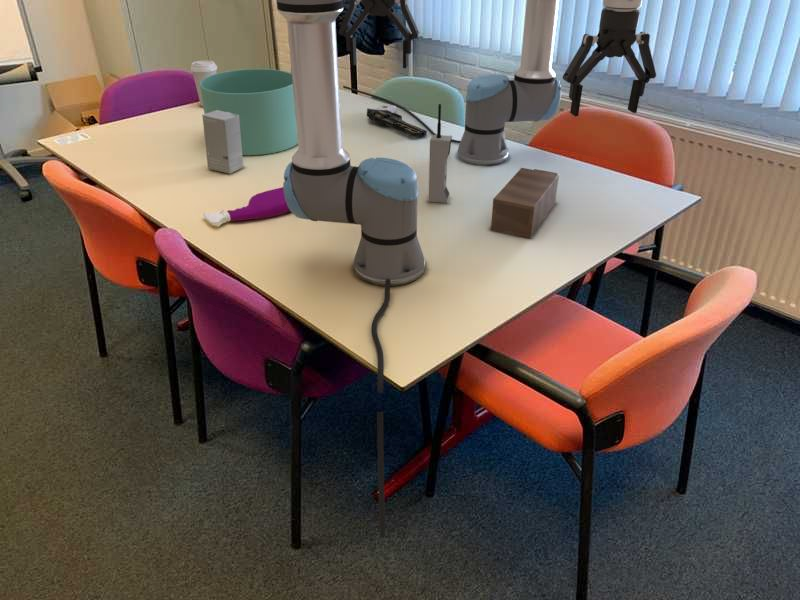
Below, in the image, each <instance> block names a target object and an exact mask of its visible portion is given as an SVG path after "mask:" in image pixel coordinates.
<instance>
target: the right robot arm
mask: <svg viewBox="0 0 800 600" xmlns="http://www.w3.org/2000/svg"><path fill="white" fill-rule="evenodd" d="M559 3H560V0H526V4H525V15H524V16H525V17H524V26H523V35H522V36H523V37H522V47H521V49H522V50H521V57H520V67H519V68H517V69H516V70H515V71H514V75H513V79H510V78H509V76H507V75H506V74H503V73H498V74H497V73H489V74H488V73H487V74H483V75H479V76H476V77H474V78H472V79H471V80H470V81H469V82H468V84H467V89H466V94H465V118H464V132H463V134H462V136H461V139H460V140H457V139H453V138H452V140H451V143H454V144H455V143H456V144H458V146H457V153H456V154H457V156H456V157H457V158H458V159H459V160H460V161H462V162H464V163H466V164H471V165H477V166H493V165H499V164H502V163H504V162H506V161H507V160H508V158H509V147H508V143H507V140H506V134H505V126H506V125H505V124H506V123H516V122H517V123H518V122H519V123H520V122H539V121H547V120H550V119H552V118H553V117H554V115H555V114H556V113H557V111H558V109H559V106H560V103H561V98H562V91H561V89H562V85H561V82H560V80H559V79H558V78H556V75H557V74H556V72H555V71H554V70H553V68H552V64H553V55H554V46H555V40H556V39H555V38H556V29H557V21H558V13H559V12H558V11H559ZM642 5H643V0H602V6H603V7H604V8H603V9H602V10H601V11H600V12H601V13H600V17H599V18H600V19H599V25H598V33H597V34H596V35H591V34H589V33H584V34H583V35H582V39H581V44H580V46H579V48H578V49H577V51H576V53H575V54H574V56H573V58H572V60H571V61H570V63H569V65H568V67H567V69H565V71H564V73H563V75H562V80H563V81H565V82H566V83H569V84H570V85H569V91H568V92H569V93H568V99H569V100H571V103H570V110H569V113H570V114H571V115H572V116H574V117H579V114H580V107H581V100H582V95H583V87H584V86H583V85H582V84H581V83H582V82H583V81H584V79H586V77H587V76H588V75H590V73H591V72H592V71H593V70H594V68H595V67H596V66H597V65H598V64H599V63H600V62H601V61H603V60H604V59H605V58H608V59H611V58H615V57H617V58H623V57H624V58H625V60H626V62H627V63H628V65H629V66H630V68H631V70H632V71H633V74H634V75H635V76H636V79H633V80H632V85H631V90H630V95H629V99H628V105H627V111H629V112H631V113H632V114H637V112H638V108H639V102H640V98H641V97H643V96H644V94H645V90H646V89H645V88H646V84H648V83H649V82H650V80H651V79H652V80H653V79H655V78H656V77H657V72H656V68H655V63H654V59H653V55H652V52H651V47H650V38H651V35H650V34H649V33H647V32H645V31H640V32H639V33H637V32H636V31H637V29H638V26H639V21H640V16H641V11H640V10H639V9H640V8H641V7H642ZM635 43H636V44H637V47H638V50H639V54H640V59H641V62H642V65H641V63H640V62H639V60H638V59H637V56H636V54H635V52H634V50H633V48H632V47H633V45H634V44H635ZM595 44H596V47H595V48H594V50H593V51H592V52H591V49H592V47H594V46H595ZM590 52H591V55H590V56H589V57H588V58H587V56H588V55H589V53H590ZM586 58H587V59H586ZM585 60H586V61H585ZM642 66H643V67H642ZM342 88H343V89H346V90H348V91H349V90H350V91H352V92H356V93H359V94H363V95H365V96H368V97H372V98H375V99H377V100H381V101H384V102H386V103H387V104H388V103H389V104H390V105H394V106H396V107H397V108H399V109H401V110H403V111H404V112H406V113H408V114H409V115H410V116H411V117H413V118H414V119H415V120H417V122H419V123H420V124H421V125H422V126H423V127H424V128H425V129H426V130H427V131H429V133H430V134H431V136H433V135H437V133H435V132H434V131H433V130H432V129H431V127H429V126H428V125H427V124H426V123H425V122H424V121H423V120H422V119H420V118H419V117H418V116H417V115H415V114H414V113H413V112H412V111H410V110H408V109H407V108H405V107H403V106H402V105H400V104H398V103H397V102H394V101H392V100H389V99H387V98H384V97H381V96H378V95H375V94H372V93H369V92H365V91H362V90H359V89H356V88H353V87H349V86H347V85H343V86H342Z"/></svg>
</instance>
